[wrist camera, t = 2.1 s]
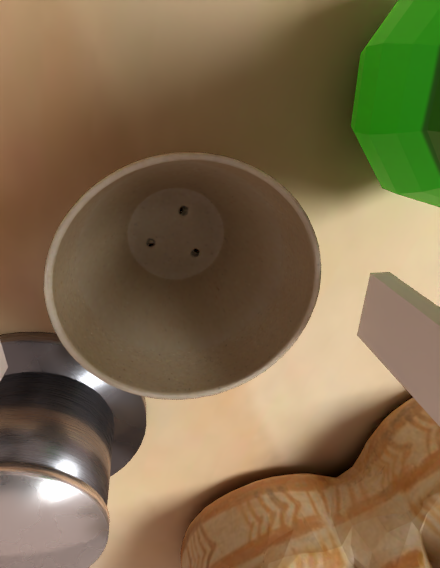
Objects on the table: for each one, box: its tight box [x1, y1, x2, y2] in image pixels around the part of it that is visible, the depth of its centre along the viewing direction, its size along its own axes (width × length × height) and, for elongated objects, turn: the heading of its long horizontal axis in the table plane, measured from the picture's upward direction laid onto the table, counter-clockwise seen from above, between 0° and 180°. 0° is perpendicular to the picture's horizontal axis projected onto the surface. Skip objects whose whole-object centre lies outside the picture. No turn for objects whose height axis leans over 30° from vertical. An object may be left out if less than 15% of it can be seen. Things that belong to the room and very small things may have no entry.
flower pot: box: [44, 152, 321, 400], centre depth 16 cm, size 10×10×7 cm
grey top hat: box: [0, 332, 146, 568], centre depth 20 cm, size 13×13×8 cm
